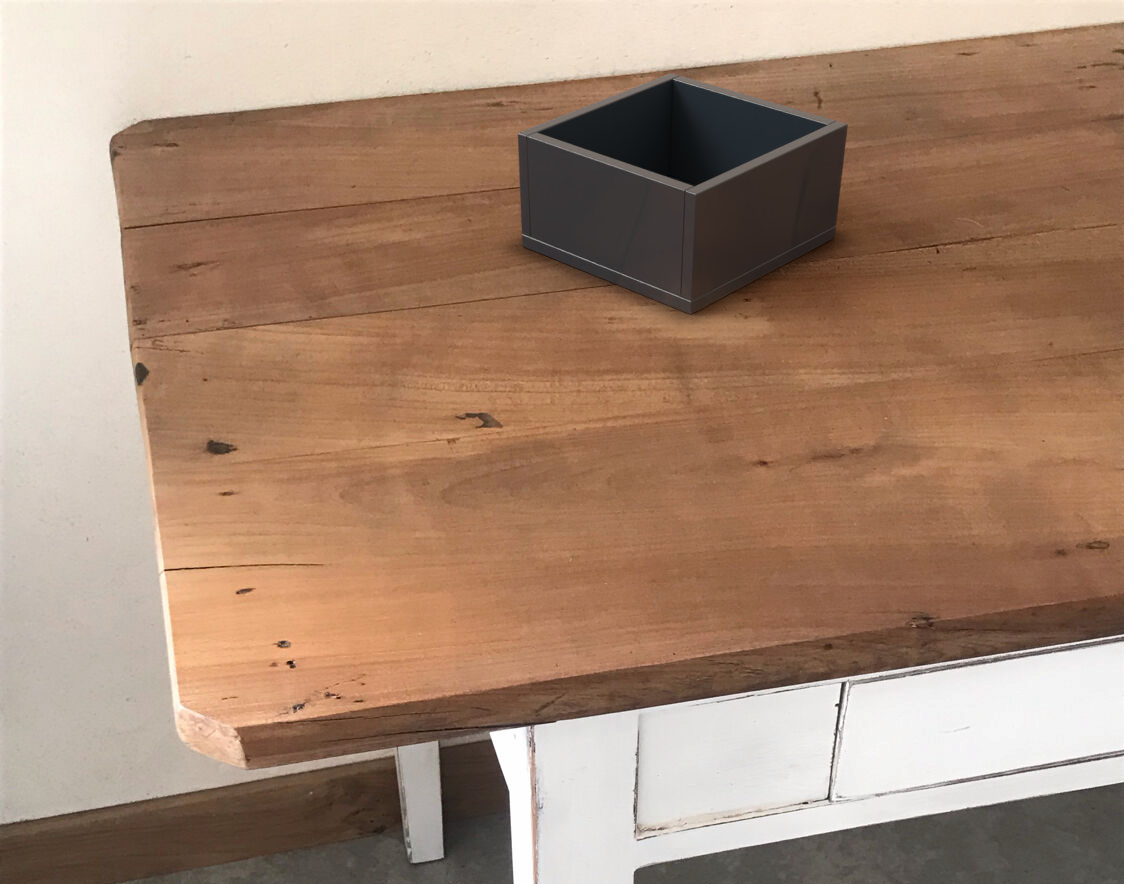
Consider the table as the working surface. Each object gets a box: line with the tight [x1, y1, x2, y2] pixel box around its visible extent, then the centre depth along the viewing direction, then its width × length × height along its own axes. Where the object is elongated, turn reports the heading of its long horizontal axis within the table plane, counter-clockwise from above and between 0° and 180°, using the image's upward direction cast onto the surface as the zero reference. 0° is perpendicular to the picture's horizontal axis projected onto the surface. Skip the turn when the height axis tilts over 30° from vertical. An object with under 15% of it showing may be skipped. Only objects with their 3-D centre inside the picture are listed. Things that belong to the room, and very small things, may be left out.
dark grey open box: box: [517, 72, 849, 315], centre depth 82 cm, size 14×14×7 cm
